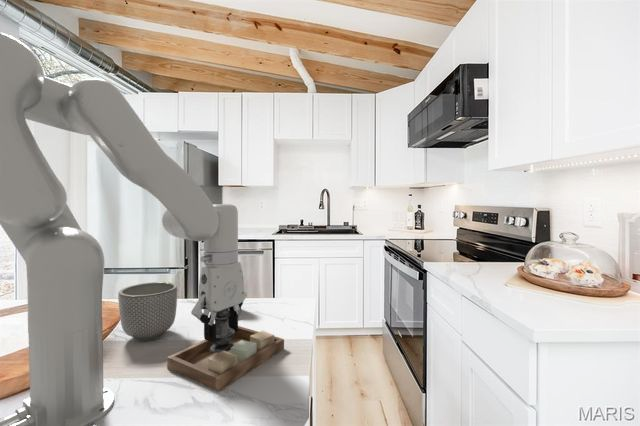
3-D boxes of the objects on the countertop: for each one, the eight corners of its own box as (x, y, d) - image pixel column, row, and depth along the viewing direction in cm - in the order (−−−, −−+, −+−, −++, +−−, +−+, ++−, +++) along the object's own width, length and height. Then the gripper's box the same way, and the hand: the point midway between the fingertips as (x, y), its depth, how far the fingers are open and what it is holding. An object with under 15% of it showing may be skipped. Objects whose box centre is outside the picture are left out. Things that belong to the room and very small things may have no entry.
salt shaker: (227, 354, 69) (226, 301, 68) (203, 352, 70) (202, 299, 69) (239, 343, 74) (239, 293, 74) (216, 340, 76) (216, 291, 75)
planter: (124, 330, 87) (123, 284, 86) (178, 322, 92) (178, 279, 92) (113, 352, 74) (112, 298, 74) (177, 342, 80) (176, 292, 79)
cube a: (221, 384, 61) (221, 363, 61) (208, 378, 63) (208, 358, 63) (237, 374, 64) (237, 355, 64) (223, 368, 66) (223, 350, 66)
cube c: (261, 357, 71) (261, 340, 71) (249, 352, 73) (249, 335, 73) (274, 351, 74) (274, 334, 74) (262, 346, 77) (262, 330, 76)
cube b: (246, 369, 66) (246, 351, 66) (230, 365, 67) (230, 347, 67) (256, 360, 70) (256, 343, 70) (241, 357, 71) (241, 340, 71)
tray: (219, 394, 58) (219, 379, 58) (167, 370, 66) (167, 357, 66) (284, 351, 75) (284, 339, 75) (236, 336, 84) (236, 325, 83)
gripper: (200, 266, 62) (201, 355, 63) (258, 254, 77) (259, 325, 77) (177, 262, 66) (178, 346, 66) (237, 251, 81) (237, 319, 81)
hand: (221, 334), depth 72 cm, fingers closed on salt shaker, 5 cm apart
